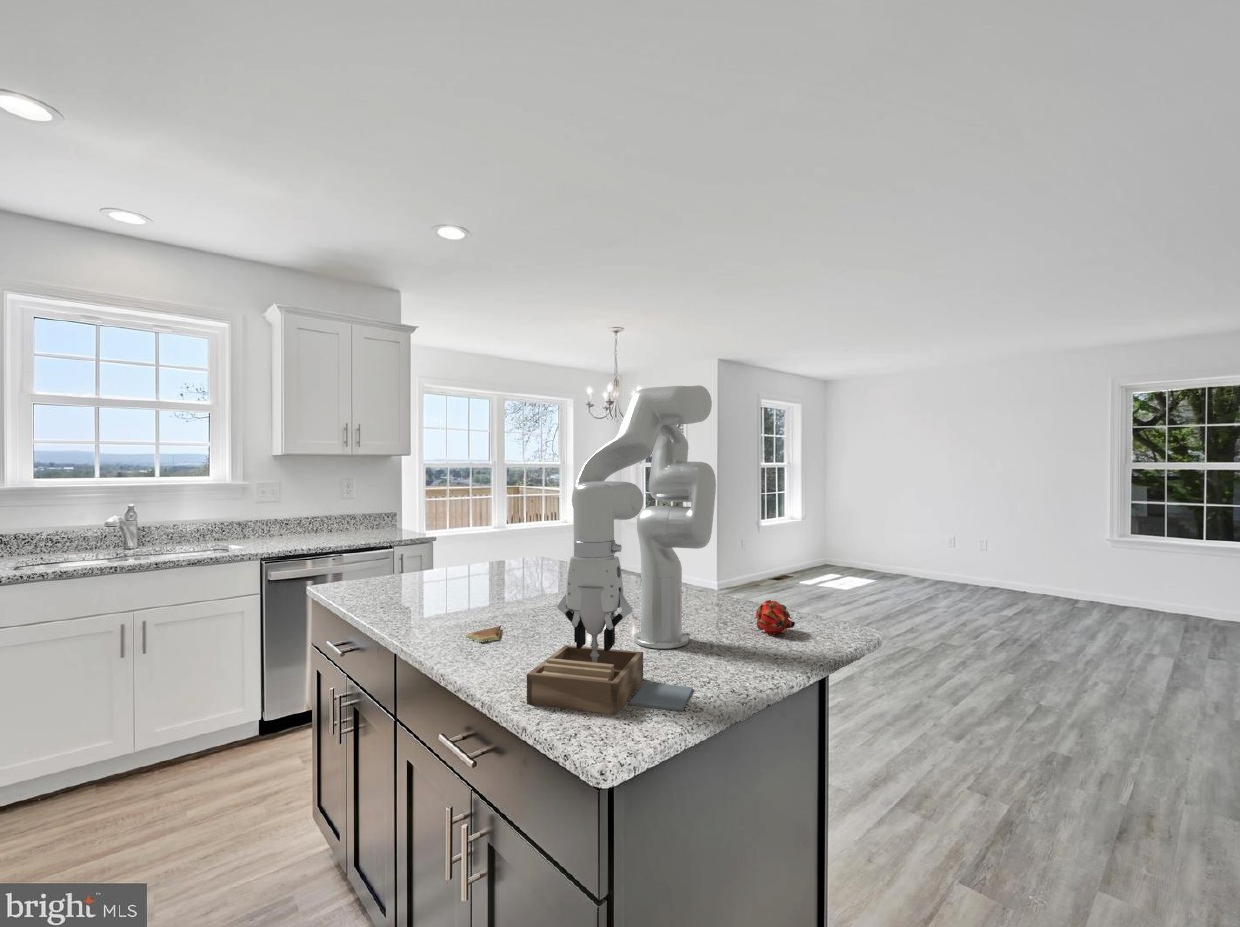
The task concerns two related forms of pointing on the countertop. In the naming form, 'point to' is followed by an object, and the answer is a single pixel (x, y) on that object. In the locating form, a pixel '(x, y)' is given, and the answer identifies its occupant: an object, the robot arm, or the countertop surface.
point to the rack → (587, 682)
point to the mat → (662, 696)
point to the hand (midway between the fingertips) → (594, 646)
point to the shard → (485, 634)
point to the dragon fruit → (773, 618)
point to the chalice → (592, 616)
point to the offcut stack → (579, 669)
